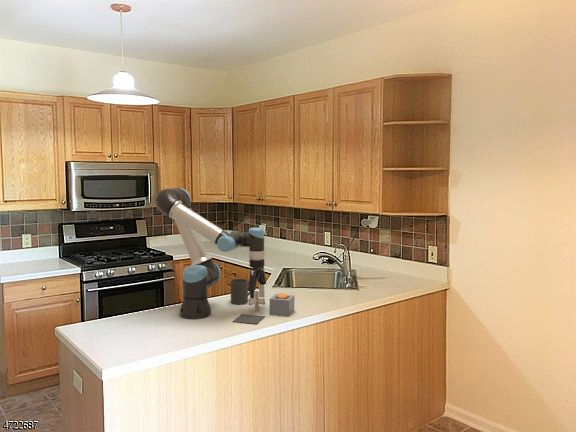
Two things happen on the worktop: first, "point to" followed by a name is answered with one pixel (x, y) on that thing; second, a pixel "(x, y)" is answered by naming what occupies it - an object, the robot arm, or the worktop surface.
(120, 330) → the worktop surface
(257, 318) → the mat
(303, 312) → the worktop surface
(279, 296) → the plunger
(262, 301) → the beige toy jack
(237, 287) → the mug
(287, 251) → the worktop surface
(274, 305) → the housing
